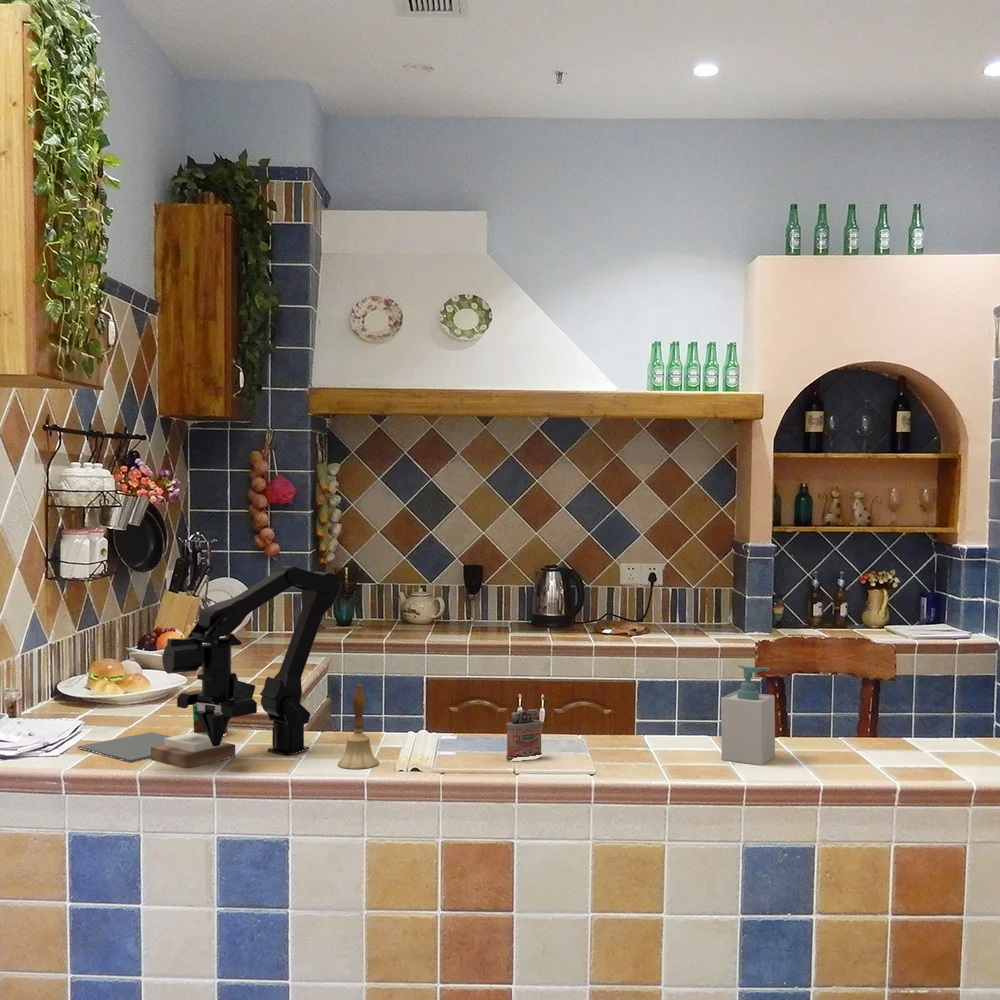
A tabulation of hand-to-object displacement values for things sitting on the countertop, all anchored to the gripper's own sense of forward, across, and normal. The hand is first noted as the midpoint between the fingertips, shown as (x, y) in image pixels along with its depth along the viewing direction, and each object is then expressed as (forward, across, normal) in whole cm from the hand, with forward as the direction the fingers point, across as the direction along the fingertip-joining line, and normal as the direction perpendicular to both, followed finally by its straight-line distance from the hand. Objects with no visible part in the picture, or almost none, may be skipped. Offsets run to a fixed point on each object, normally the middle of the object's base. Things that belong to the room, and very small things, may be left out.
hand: (216, 746), depth 201 cm
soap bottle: (+4, -85, -68) cm, 109 cm away
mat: (+4, +25, +1) cm, 25 cm away
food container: (+4, +21, -16) cm, 27 cm away
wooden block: (+4, +8, 0) cm, 8 cm away
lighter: (+4, -48, -41) cm, 63 cm away
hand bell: (+4, -24, -17) cm, 29 cm away
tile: (+1, +8, 0) cm, 8 cm away
